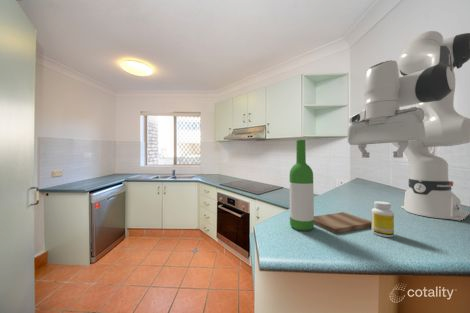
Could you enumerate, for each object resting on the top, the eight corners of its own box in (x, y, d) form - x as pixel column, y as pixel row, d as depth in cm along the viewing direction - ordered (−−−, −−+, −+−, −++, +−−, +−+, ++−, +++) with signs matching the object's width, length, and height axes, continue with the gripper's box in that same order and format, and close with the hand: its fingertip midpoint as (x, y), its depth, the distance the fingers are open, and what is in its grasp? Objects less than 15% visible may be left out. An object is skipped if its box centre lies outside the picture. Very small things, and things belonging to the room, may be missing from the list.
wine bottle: (307, 222, 66) (306, 141, 66) (318, 231, 58) (317, 138, 59) (286, 223, 66) (285, 141, 66) (294, 232, 58) (294, 138, 58)
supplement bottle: (398, 238, 53) (398, 205, 53) (377, 237, 54) (377, 204, 54) (386, 231, 58) (386, 200, 59) (368, 229, 60) (367, 200, 60)
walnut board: (343, 215, 74) (343, 212, 74) (374, 226, 62) (374, 222, 62) (307, 221, 68) (307, 217, 68) (334, 233, 57) (334, 229, 57)
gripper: (431, 106, 48) (430, 157, 48) (357, 121, 68) (357, 157, 68) (416, 103, 46) (416, 157, 46) (344, 119, 66) (344, 157, 66)
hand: (380, 157), depth 57 cm, fingers open, 8 cm apart
